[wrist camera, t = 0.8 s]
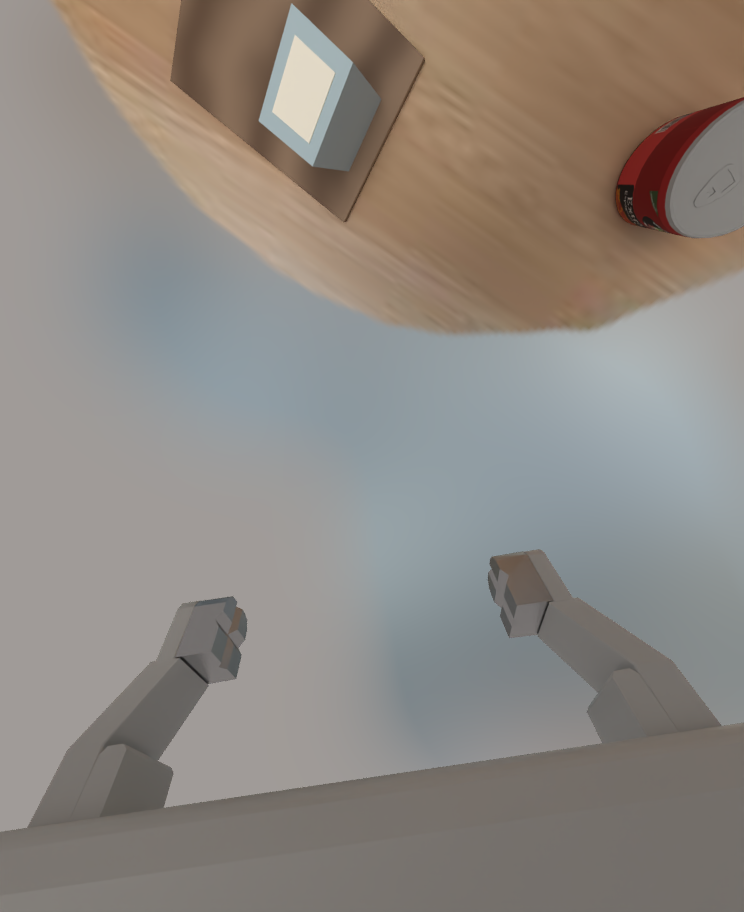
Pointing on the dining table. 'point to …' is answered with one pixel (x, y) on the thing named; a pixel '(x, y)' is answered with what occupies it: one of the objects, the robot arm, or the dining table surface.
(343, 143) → the light blue box
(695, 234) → the canned food
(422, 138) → the dining table surface
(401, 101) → the board
